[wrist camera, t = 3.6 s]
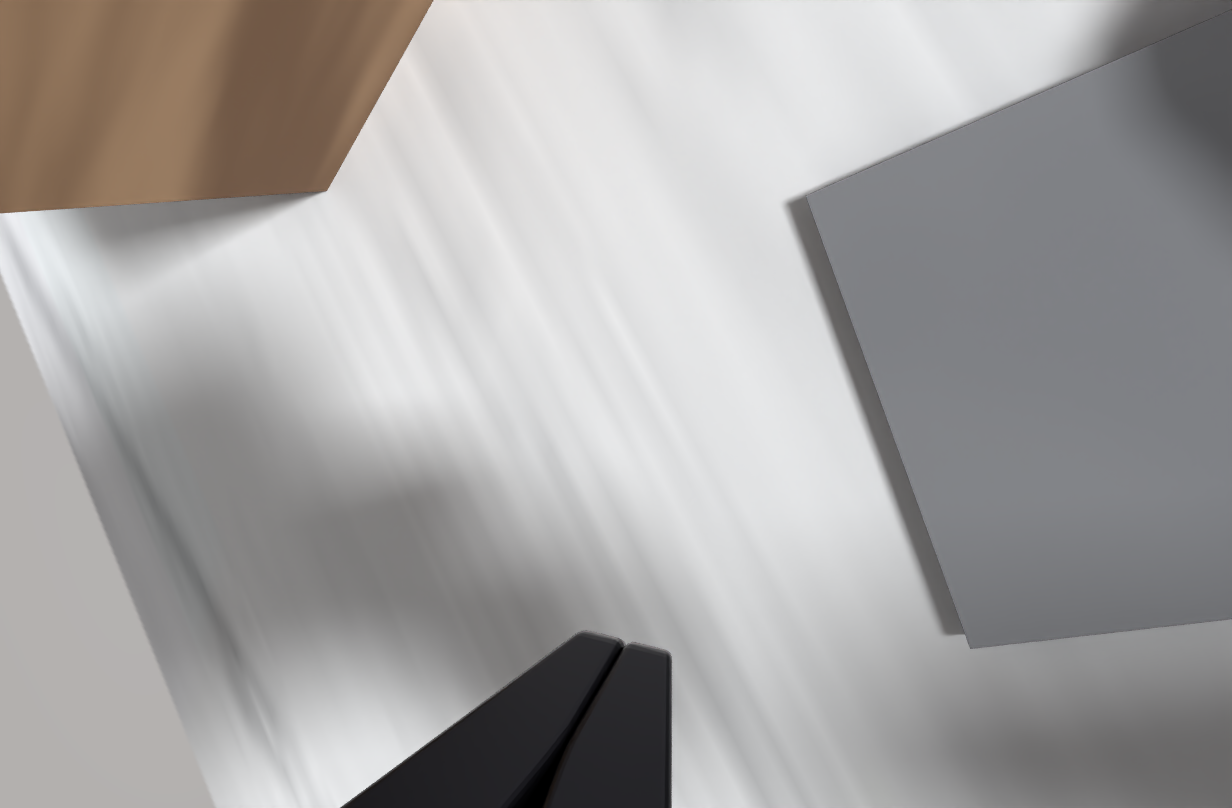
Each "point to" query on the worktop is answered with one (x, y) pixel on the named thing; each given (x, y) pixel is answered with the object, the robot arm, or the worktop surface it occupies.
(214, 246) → the worktop surface
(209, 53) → the light brown wooden block
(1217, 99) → the slate coaster
